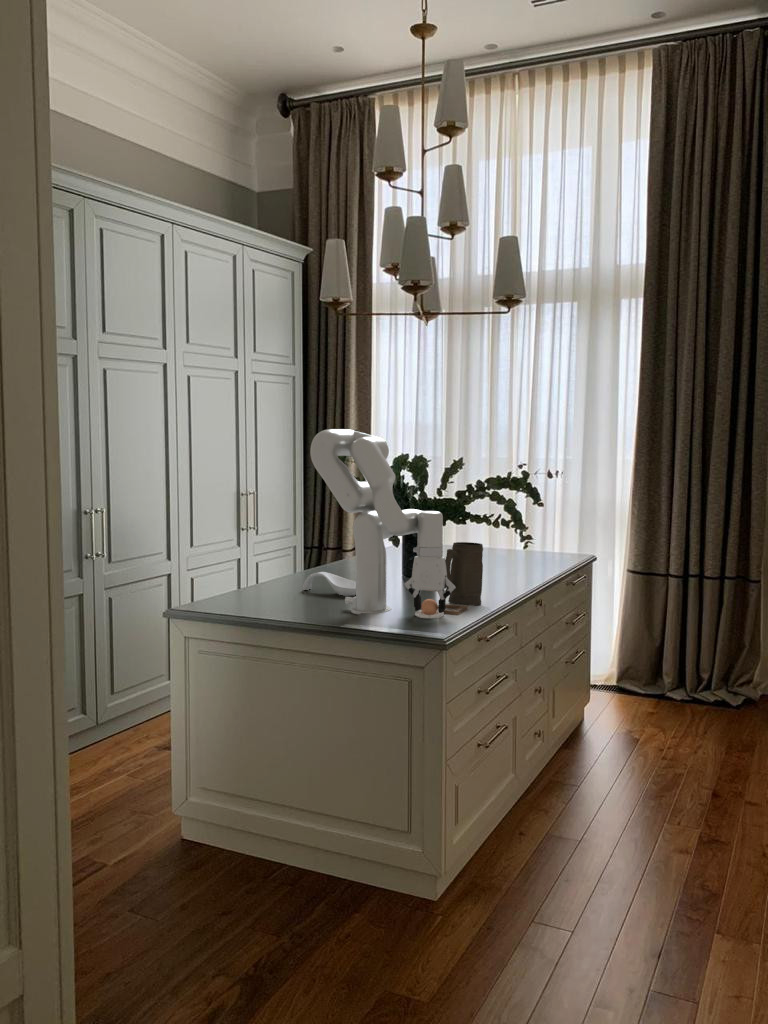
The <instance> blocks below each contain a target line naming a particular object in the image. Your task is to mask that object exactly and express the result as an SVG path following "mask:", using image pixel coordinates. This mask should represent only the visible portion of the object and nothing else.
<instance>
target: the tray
mask: <svg viewBox="0 0 768 1024" xmlns="http://www.w3.org/2000/svg"><path fill="white" fill-rule="evenodd" d="M437 605H438V610H439V604H437ZM467 610H468V605H459V604H449V603H448V604H447V603H446V608H445V610H444V615H455V616H459V615H460V614H463V613H464V612H466V611H467Z"/></svg>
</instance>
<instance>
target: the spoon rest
mask: <svg viewBox="0 0 768 1024" xmlns="http://www.w3.org/2000/svg"><path fill="white" fill-rule="evenodd" d="M317 577H323V578H325V580H326V581H327V583H328V584H330V586H331V588H332V589H333V591H335V593H336V594H337V595H339V596H340V595H343V596H342V597H356V596H355V595H356V580H351V579H348V578H345V577H342V576H340V575H336V574H333V573H330V572H326V571H319V572H314V573H311V574H310V575H308V576H307V577H306V579H305V580H304V583H303V585H302V591H303V590H308V591H310V590H309V589H311V590H312V584H313V581H314V579H315V578H317Z"/></svg>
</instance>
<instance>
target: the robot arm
mask: <svg viewBox="0 0 768 1024" xmlns="http://www.w3.org/2000/svg"><path fill="white" fill-rule="evenodd" d="M311 441H312V442H311V445H310V459H311V462H312V464H313V466H314V468H315V470H316V472H317V473H318V474H319V475H320V477H321V479H323V481H324V483H325V484H326V486H327V487H328V489H329V490H330V493H332V495H333V497H334V498H335V500H336V501H337V502H338V504H339V505H340V507H341V508H342V510H344V511H345V512H347V513H349V514H354V513H356V514H357V513H360V514H358V515H357V516H356V518H355V519H354V521H353V525H352V535H353V539H354V548H355V549H354V550H355V581H356V596H345V598H344V604H346V605H352V607H351V608H350V613H352V614H354V615H361V614H381V613H386V612H390V611H392V607H391V606H388V605H387V550H386V545H385V542H384V540H385V539H389V538H392V537H393V536H396V537H403V536H406V535H411V534H417V545H416V547H413V550H412V551H413V553H416V556H414V559H413V564H412V570H411V577H410V578H409V579H408V580H407V581H405V582H404V586H405V588H406V589H407V590H408V592H409V594H410V595H412V598H413V608H414V611H415V612H417V611H419V610H422V609H421V605H422V596H421V592H422V591H426V592H427V591H428V592H437V594H438V596H439V600H438V605H439V613H442V612H444V610H446V609H447V608H446V604H447V602H446V600H447V598H449V596H450V594H451V593H452V592H453V590H454V589H455V588H456V587H455V585H454V584H452V583H451V582H450V581H449V580H448V579H447V569H446V562H445V559H446V557H444V556H443V552H444V551H443V548H444V547H443V544H444V543H443V541H444V540H443V539H444V538H443V535H444V534H443V533H444V531H443V530H444V526H443V525H444V522H443V521H444V517H443V513H442V512H441V511H437V510H420V509H415V508H407V509H402V508H401V507H400V505H399V504H398V502H397V500H396V499H395V495H394V491H393V486H394V483H395V481H396V478H397V477H396V473H395V472H394V471H393V469H392V467H391V466H390V464H389V462H388V461H387V458H388V456H389V453H390V452H389V451H390V450H389V446H388V443H387V442H386V441H385V440H384V439H383V438H381V437H380V436H378V435H377V436H375V435H371V434H368V433H365V432H360V431H357V430H353V429H348V428H346V429H345V428H337V429H336V428H329V429H324V430H321V431H319V432H318V433H316V435H315V436H314V437H313V439H312V440H311ZM345 456H347V457H351V458H352V459H353V461H354V463H355V465H356V467H357V468H358V469H359V471H360V472H361V474H362V476H363V478H364V481H359V480H358V479H356V477H355V476H354V475H353V473H352V471H351V470H350V468H349V467H348V466H347V464H345V463H344V462H343V461H342V460H341V459H340V458H339V457H345ZM447 586H448V587H449V589H448V590H447V591H446V592H445V590H446V588H447Z"/></svg>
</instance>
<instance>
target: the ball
mask: <svg viewBox="0 0 768 1024" xmlns="http://www.w3.org/2000/svg"><path fill="white" fill-rule="evenodd" d="M438 605H439V604H438V602H436V600H434V599H432V598H427V599H425V600H423V601H422V602H421V609H420V610H422V612H423V613H424V614H426V615H434V614H435V613H436V612H437V610H438Z"/></svg>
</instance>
